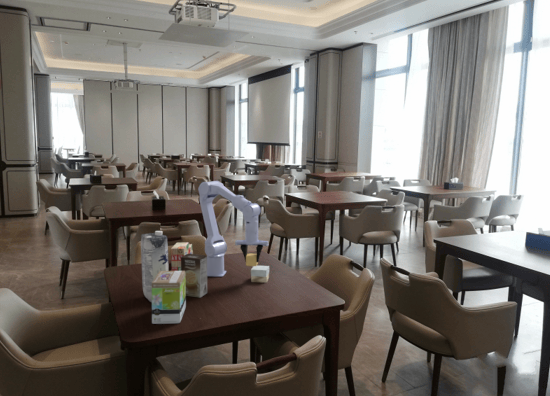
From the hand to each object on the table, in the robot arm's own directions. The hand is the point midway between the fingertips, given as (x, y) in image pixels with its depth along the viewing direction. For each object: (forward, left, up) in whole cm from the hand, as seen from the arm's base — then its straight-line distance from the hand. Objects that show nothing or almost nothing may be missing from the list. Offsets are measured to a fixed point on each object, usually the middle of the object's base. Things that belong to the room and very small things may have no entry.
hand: (252, 261), depth 193 cm
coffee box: (-21, -18, -10) cm, 29 cm away
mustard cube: (0, 0, -2) cm, 2 cm away
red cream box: (-39, +20, -10) cm, 45 cm away
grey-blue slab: (+3, +4, -7) cm, 8 cm away
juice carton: (-35, -24, -10) cm, 44 cm away
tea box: (-23, -41, -10) cm, 48 cm away
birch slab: (+3, +4, -10) cm, 11 cm away
